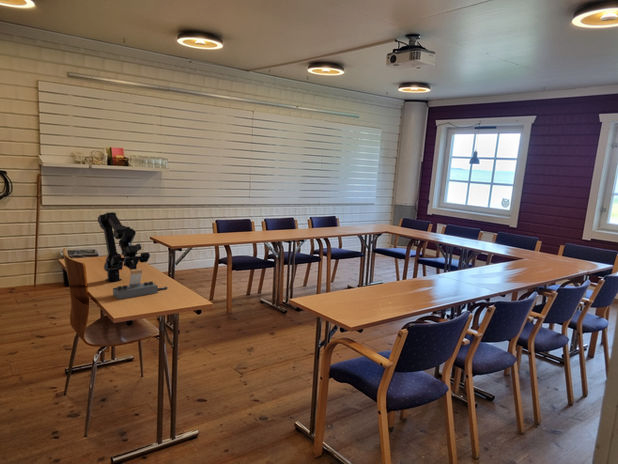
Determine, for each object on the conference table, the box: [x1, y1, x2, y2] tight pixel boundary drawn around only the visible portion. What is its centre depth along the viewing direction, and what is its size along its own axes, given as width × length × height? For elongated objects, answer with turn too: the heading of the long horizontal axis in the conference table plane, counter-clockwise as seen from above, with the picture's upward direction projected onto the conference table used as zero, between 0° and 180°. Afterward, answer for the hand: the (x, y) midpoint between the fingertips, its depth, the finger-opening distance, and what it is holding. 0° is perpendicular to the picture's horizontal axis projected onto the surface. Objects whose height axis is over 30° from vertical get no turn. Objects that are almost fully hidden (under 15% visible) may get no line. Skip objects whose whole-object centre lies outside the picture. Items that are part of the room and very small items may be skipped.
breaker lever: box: [128, 267, 143, 287], centre depth 223 cm, size 2×5×9 cm, turn 134°
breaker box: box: [112, 281, 168, 300], centre depth 226 cm, size 8×27×5 cm, turn 133°
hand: (135, 272), depth 222 cm, fingers closed, pressing on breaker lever
